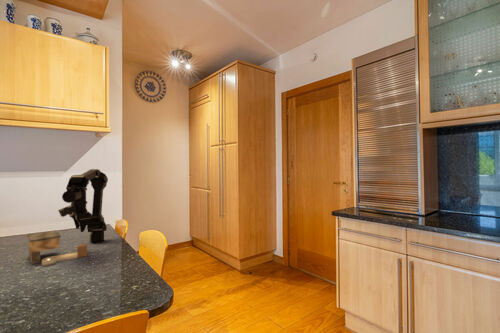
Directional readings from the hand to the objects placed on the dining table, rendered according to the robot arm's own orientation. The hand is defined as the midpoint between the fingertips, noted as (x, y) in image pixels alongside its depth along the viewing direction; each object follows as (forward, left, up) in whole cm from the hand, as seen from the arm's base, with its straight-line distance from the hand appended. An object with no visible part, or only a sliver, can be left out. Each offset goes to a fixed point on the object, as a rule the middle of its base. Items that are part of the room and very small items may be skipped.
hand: (79, 230), depth 128 cm
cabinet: (+14, -6, -12) cm, 19 cm away
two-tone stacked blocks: (+6, +3, -12) cm, 14 cm away
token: (+13, +7, -12) cm, 19 cm away
